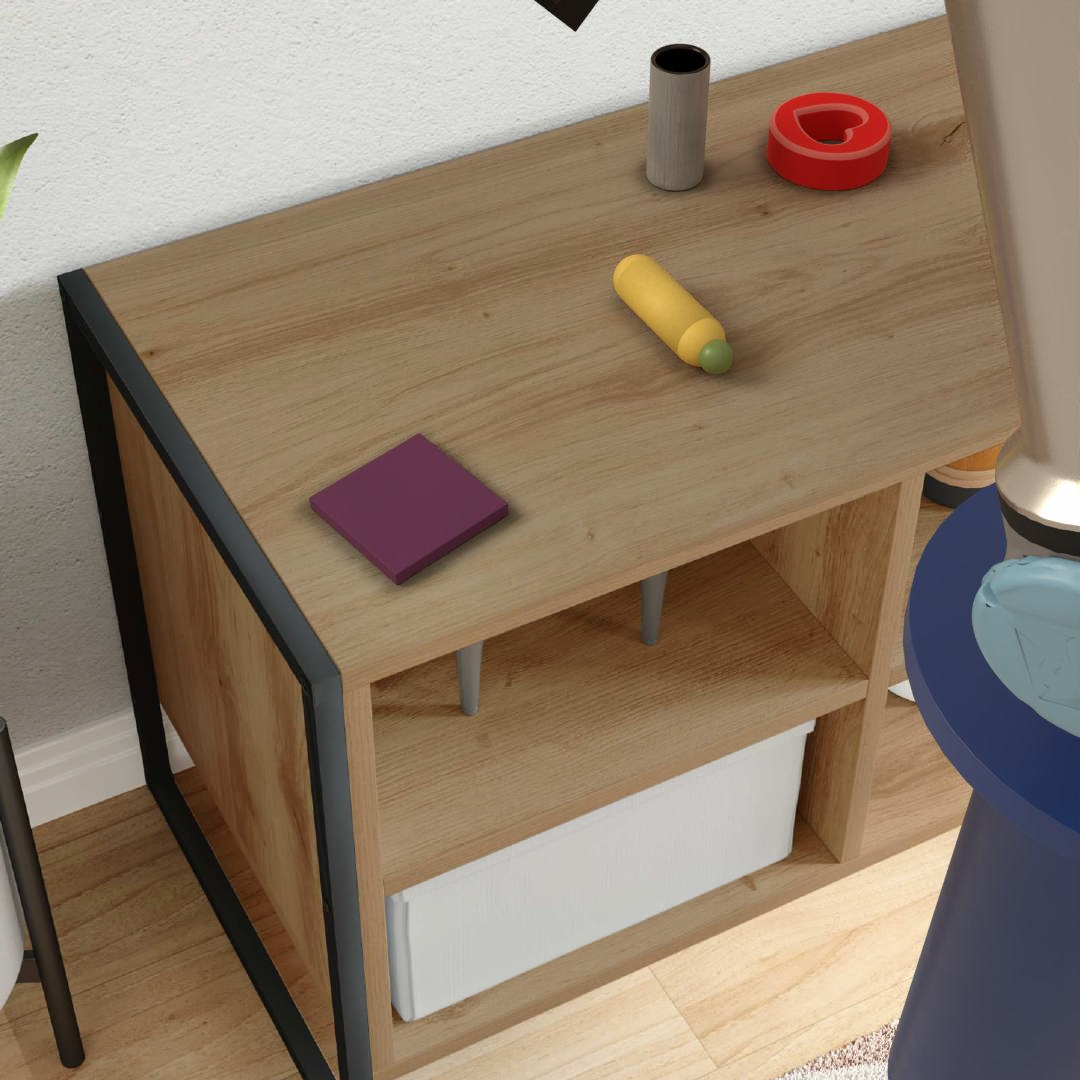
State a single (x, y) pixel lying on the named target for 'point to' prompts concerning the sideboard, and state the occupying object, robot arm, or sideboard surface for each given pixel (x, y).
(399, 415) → the sideboard surface
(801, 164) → the decorative ornament
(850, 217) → the sideboard surface
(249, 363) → the sideboard surface
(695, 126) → the grey hollow cylinder
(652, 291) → the corn
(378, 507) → the cloth
